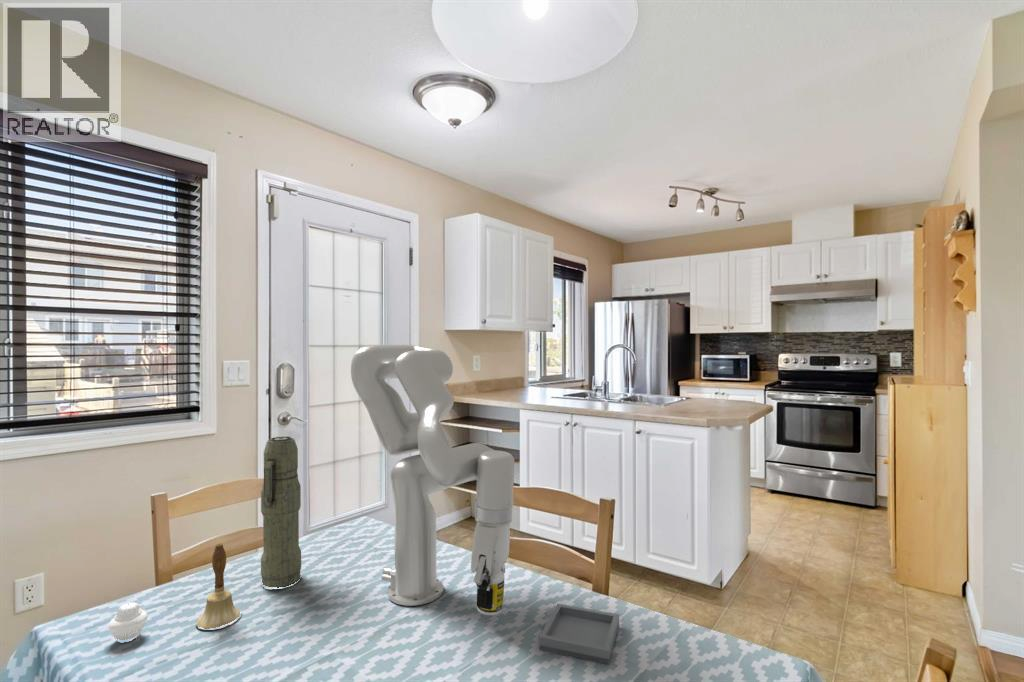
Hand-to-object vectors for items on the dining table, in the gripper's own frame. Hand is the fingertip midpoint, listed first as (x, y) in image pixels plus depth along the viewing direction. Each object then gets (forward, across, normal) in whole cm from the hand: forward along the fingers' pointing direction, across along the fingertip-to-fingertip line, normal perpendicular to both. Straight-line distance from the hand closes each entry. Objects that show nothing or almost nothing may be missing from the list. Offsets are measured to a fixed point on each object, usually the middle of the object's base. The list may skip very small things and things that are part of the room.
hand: (490, 598), depth 104 cm
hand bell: (+8, +18, -54) cm, 58 cm away
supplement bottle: (+2, 0, 0) cm, 2 cm away
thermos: (+9, 0, -55) cm, 56 cm away
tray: (+4, -2, +19) cm, 19 cm away
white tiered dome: (+9, +29, -65) cm, 72 cm away
